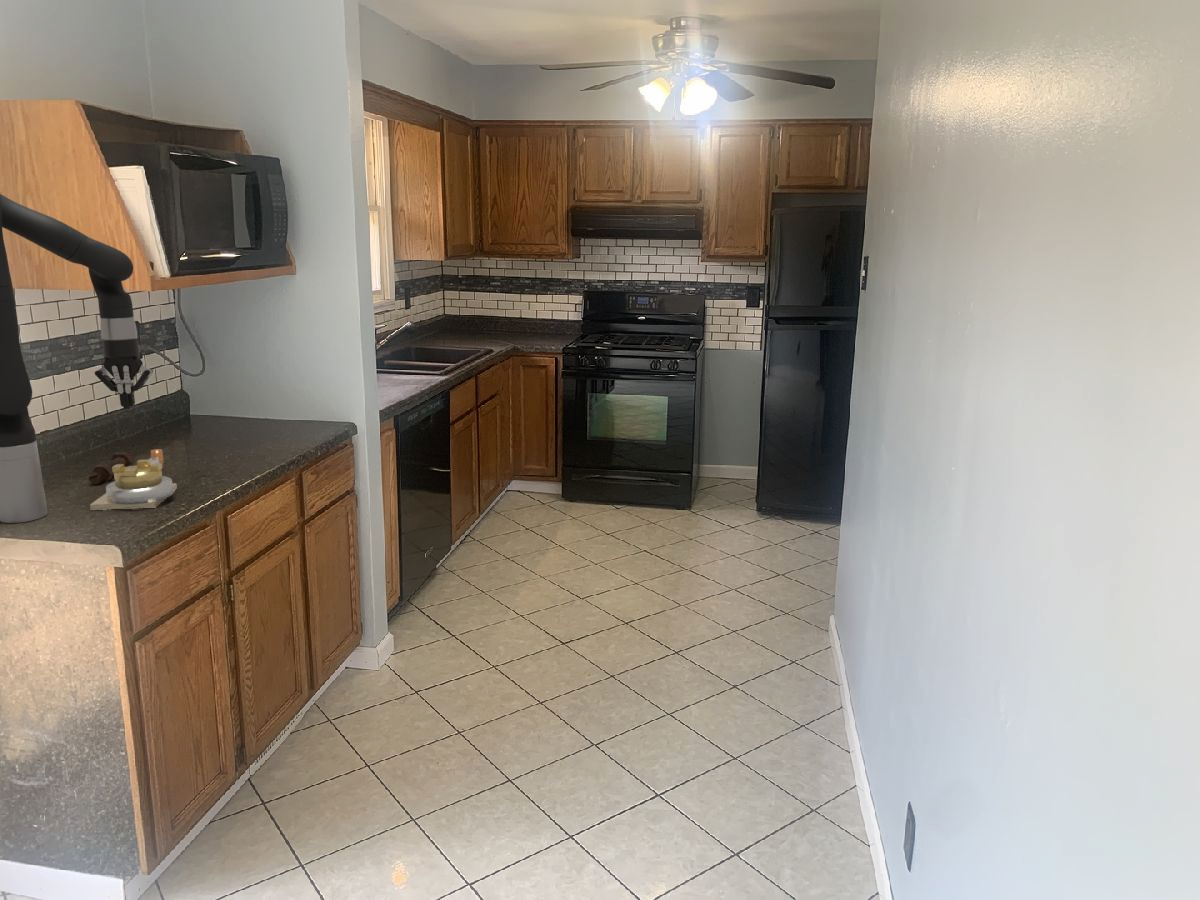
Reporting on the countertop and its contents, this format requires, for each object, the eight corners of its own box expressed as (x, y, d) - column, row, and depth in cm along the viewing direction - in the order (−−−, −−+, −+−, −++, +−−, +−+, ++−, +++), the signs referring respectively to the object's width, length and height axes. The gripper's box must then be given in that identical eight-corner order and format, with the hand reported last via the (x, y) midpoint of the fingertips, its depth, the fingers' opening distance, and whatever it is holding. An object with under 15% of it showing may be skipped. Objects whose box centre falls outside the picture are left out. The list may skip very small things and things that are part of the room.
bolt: (92, 493, 226) (122, 475, 241) (108, 483, 226) (137, 466, 240) (78, 473, 225) (109, 456, 239) (94, 464, 224) (124, 447, 239)
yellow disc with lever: (154, 487, 208) (152, 469, 206) (107, 489, 206) (105, 470, 205) (181, 465, 227) (179, 448, 226) (138, 466, 225) (136, 449, 224)
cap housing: (89, 512, 205) (86, 493, 204) (117, 490, 221) (115, 473, 220) (162, 509, 207) (160, 491, 206) (185, 488, 223) (183, 471, 222)
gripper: (83, 338, 208) (93, 411, 212) (143, 338, 210) (152, 410, 214) (96, 334, 215) (105, 405, 220) (154, 334, 217) (162, 404, 221)
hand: (128, 408), depth 217 cm, fingers closed
